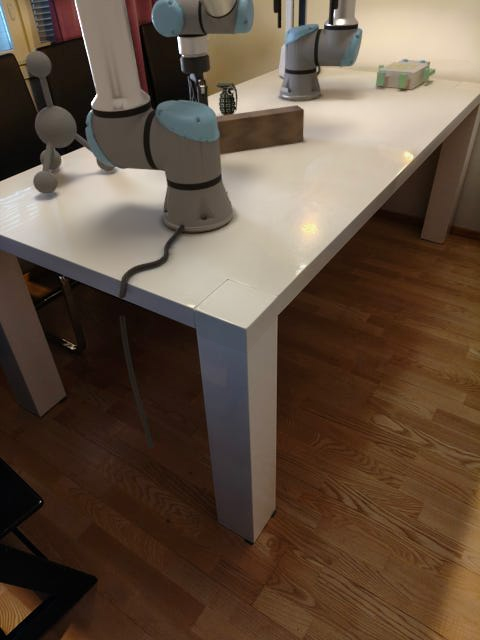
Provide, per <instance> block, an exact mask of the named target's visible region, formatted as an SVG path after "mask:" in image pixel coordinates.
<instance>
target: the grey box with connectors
mask: <svg viewBox="0 0 480 640" xmlns="http://www.w3.org/2000/svg"><path fill="white" fill-rule="evenodd" d="M430 66H431V61H428V60H427V61H426V60H425V59H421V60H415V59H414V60H413V59H408V58H403V59H401V60H399V61H393V62H391V63H389V64H387V65H384V64H379V65H378V69H377V73H376V81H375V86H376V87H384V88H394V89H395V88H397V89H406V90H413V89H415V88H417V87H418V86H420V85H421V84H423V83H426V82H429V79H430V77H431V76H433V75H435V74H436V70H437V68H430Z"/></svg>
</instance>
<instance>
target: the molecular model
mask: <svg viewBox="0 0 480 640" xmlns="http://www.w3.org/2000/svg"><path fill="white" fill-rule="evenodd" d="M25 66H26V69H27V70H28V72H29V73H30V74H31V75H32V76H33V77H35V78H39V83H40V87H41V89H42V93H43V97H44V100H45V105H46V107H44V108H42V109H40V111H39V112H38V113H37V114H36V117H35V121H34V129H35V132H36V134H37V136H38V138H39V139H40V140H41V141H42V143H43V144H45V149H44V150H43V151H42V152H41V153H40V156H39V160H40V164H41V165H42V170H40V171H38V172H37V173H35V175H34V176H33V180H32V181H33V182H32V183H33V186H34V188H35V190H36V191H37V192H39V193H41V194H43V195H50V194H52V193H54V192H55V191H56V189H57V187H58V180H57V177H56V176H55V175H54V173H52V172H50V171H55V170H57V169H59V168H60V167H61V165H62V156H61V154H60V153H59V152H58V151H57V150H55V149H62V148H63V149H64V148H67V147H68V146H70V145H71V144H72V143H73V142H74V140H75V141H77V143H79V144H80V145H82V146H83V147H84V148H86V150H88V151H89V152H91V153H92V151H91V149H90V147H89V144H88V141H87V139H85V138H83V136H81V135H79V133H77V130H78V128H77V127H78V126H77V123H76V119H75V118H74V117H73V115H72V114H71V112H69V111H68V110H67V109H65V108H63V107H61V106H57V105H54V102H53V99H52V96H51V92H50V87H49V84H48V81H47V77H48V76H49V74H50V73H51V71H52V62H51V60H50V57H48V55H47V54H45V53H44V52H43V51H40V50H34V51H31V52H29V53H28V54H27V56H26V57H25ZM95 159H96V164H97V166H98V167H99V168H100V169H101V170H102V171H105V172H110V171H113V170H114V169H116V167H112V166H107V165H105V164H103V163H102V162H100V161H99V160H98V159H97V158H96V157H95Z"/></svg>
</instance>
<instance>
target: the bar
mask: <svg viewBox="0 0 480 640" xmlns="http://www.w3.org/2000/svg"><path fill="white" fill-rule="evenodd" d="M216 117H217V124H218V129H219V133H220V135H219V143H220V155H224V154H225V155H226V154H232V153H237V152H245V151H252V150H259V149H265V148H272V147H278V146H283V145H284V146H285V145H291V144H293V145H294V144H298V143H299V144H300V143H303V142H304V127H305V126H304V123H305V121H304V120H305V118H304V117H305V109H304V108H302V107H301V106H299V105H297V104H296V105H290V106H282V107H276V108H268V109H267V108H266V109H260V110H253V111H247V112H238V113H233V114H230V115H223V114H222V115H216Z"/></svg>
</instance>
